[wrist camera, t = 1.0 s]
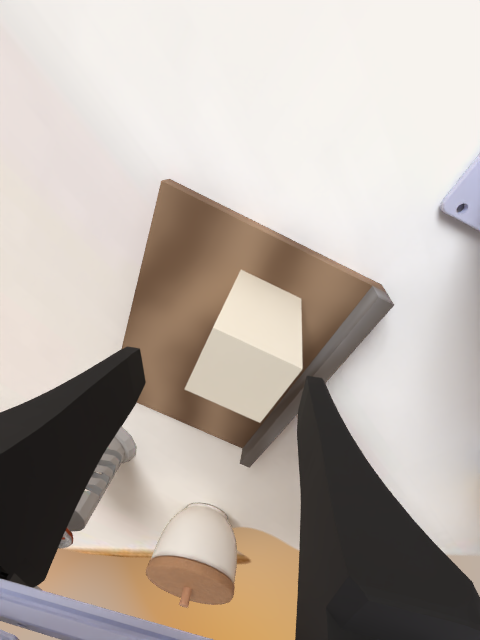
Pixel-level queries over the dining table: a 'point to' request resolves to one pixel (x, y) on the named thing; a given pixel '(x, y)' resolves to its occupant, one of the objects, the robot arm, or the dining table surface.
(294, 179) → the dining table surface
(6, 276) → the dining table surface
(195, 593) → the lidded jar
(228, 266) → the shelf board
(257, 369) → the carton
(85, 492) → the french press
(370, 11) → the dining table surface
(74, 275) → the dining table surface
